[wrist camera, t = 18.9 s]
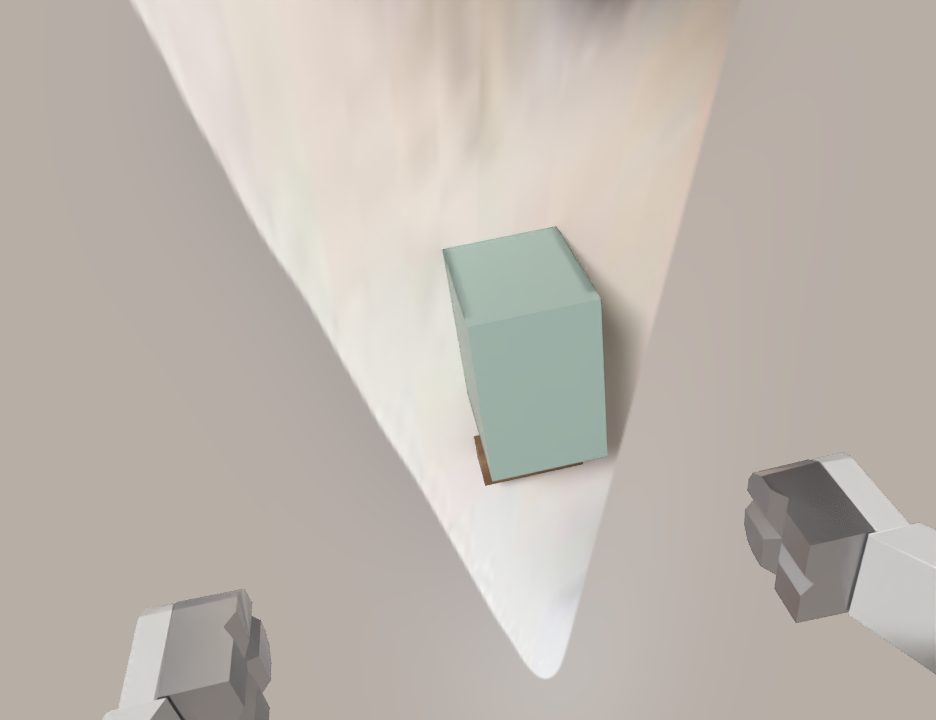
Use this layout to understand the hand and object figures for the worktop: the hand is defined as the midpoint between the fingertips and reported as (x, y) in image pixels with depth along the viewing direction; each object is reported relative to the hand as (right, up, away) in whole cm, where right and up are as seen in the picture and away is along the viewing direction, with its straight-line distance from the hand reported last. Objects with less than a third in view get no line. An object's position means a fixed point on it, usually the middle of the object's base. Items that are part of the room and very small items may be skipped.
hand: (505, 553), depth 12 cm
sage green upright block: (+2, +6, +37) cm, 38 cm away
